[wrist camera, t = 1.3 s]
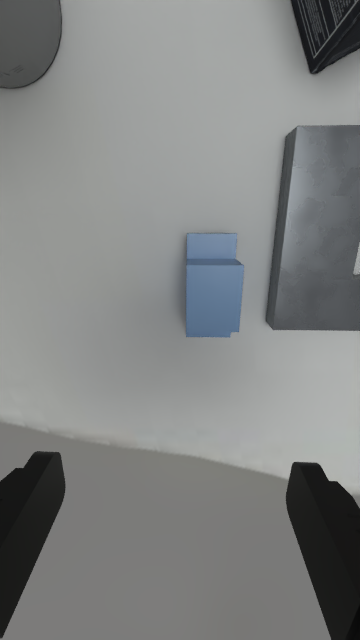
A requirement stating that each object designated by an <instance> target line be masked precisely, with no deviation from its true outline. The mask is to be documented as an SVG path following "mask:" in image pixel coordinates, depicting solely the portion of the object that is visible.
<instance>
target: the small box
mask: <svg viewBox="0 0 360 640" xmlns="http://www.w3.org/2000/svg"><path fill="white" fill-rule="evenodd" d="M291 1H292V4H293V8H294V12H295V16H296V19H297V23H298V27H299V30H300V34H301V38H302V41H303V45H304V49H305V52H306V56H307V60H308V63H309V67H310V71H311V73H318V72H319V71H322V70H323V69H324V68H325V67H326V66H328V65H330V64H333V63H334V62H335V61H337V60H339V59H341V58H342V57H345V56H346V55H347V54H349V53H351V52H353V51H356V50H357V49H359V48H360V0H291Z"/></svg>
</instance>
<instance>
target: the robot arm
mask: <svg viewBox="0 0 360 640" xmlns="http://www.w3.org/2000/svg"><path fill="white" fill-rule="evenodd" d="M60 35H61V12H60V3H59V0H0V87H8V88H15V87H21V86H25V85H27V84H29V83H32V82H34V81H35V80H36V79H38V78H39V77H40V76H41V75H42V74H44V72H45V71H46V70H47V68H48V67H49V65H50V64H51V63H52V60H53V58H54V56H55V54H56V51H57V48H58V44H59V39H60ZM64 493H65V478H64V472H63V467H62V460H61V455H60V453H59V452H41V451H37V452H35V453H34V454H33V455H32V456H31V458H30V459H29V460H28V462H27V464H26V465H25V466H24V468H15V469H14V470H13V471H12V472H11V473H10V474H8V475H7V476H6V477H5V478H4V479H3V480H1V481H0V638H2V637H3V635H4V633H5V630H6V628H7V626H8V624H9V622H10V619H11V617H12V615H13V613H14V610H15V608H16V606H17V604H18V601H19V599H20V597H21V594H22V592H23V590H24V588H25V586H26V583H27V581H28V579H29V577H30V574H31V572H32V570H33V568H34V565H35V563H36V561H37V559H38V556H39V554H40V552H41V550H42V547H43V545H44V543H45V541H46V538H47V536H48V534H49V532H50V529H51V527H52V525H53V522H54V520H55V518H56V516H57V514H58V512H59V509H60V507H61V505H62V502H63V498H64ZM286 504H287V511H288V514H289V518H290V521H291V523H292V526H293V529H294V532H295V535H296V538H297V541H298V544H299V546H300V550H301V553H302V555H303V558H304V561H305V564H306V567H307V570H308V573H309V576H310V579H311V582H312V585H313V587H314V590H315V593H316V596H317V599H318V602H319V605H320V608H321V611H322V614H323V617H324V619H325V622H326V625H327V628H328V631H329V634H330V637H331V640H360V508H359V507H358V505H357V504H356V502H355V500H354V498H353V497H352V496H351V495H350V494H349V493H348V492H347V491H346V490H345V489H344V488H343V487H342V486H341V485H340V484H339V483H338V482H337V481H329V480H328V478H327V477H326V475H325V473H324V471H323V469H322V468H321V466H320V465H319V464H318V463H308V462H294V463H293V464H292V468H291V473H290V478H289V483H288V488H287V492H286Z"/></svg>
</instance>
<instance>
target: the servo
mask: <svg viewBox="0 0 360 640" xmlns="http://www.w3.org/2000/svg"><path fill="white" fill-rule="evenodd" d="M236 243H237V234H236V233H187V285H186V337H230V334H231V332H239V324H240V311H241V298H242V285H243V272H244V265H243V264H241V263H240V262H239V261H237V260H236V259H235V258H236Z"/></svg>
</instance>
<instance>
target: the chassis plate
mask: <svg viewBox="0 0 360 640" xmlns="http://www.w3.org/2000/svg"><path fill="white" fill-rule="evenodd" d="M359 242H360V125H341V126H297V127H296V128H295V129H293V130H292V131H291V132H290V133H289V134H288V135H287V136H286V141H285V150H284V159H283V168H282V177H281V186H280V195H279V204H278V213H277V223H276V232H275V241H274V250H273V259H272V268H271V277H270V286H269V296H268V305H267V314H266V322H267V323H268V324H269V325H270V327H271V328H272V329H273V330H345V331H360V275H353V271H354V266H355V261H356V256H357V252H358V247H359Z"/></svg>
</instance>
